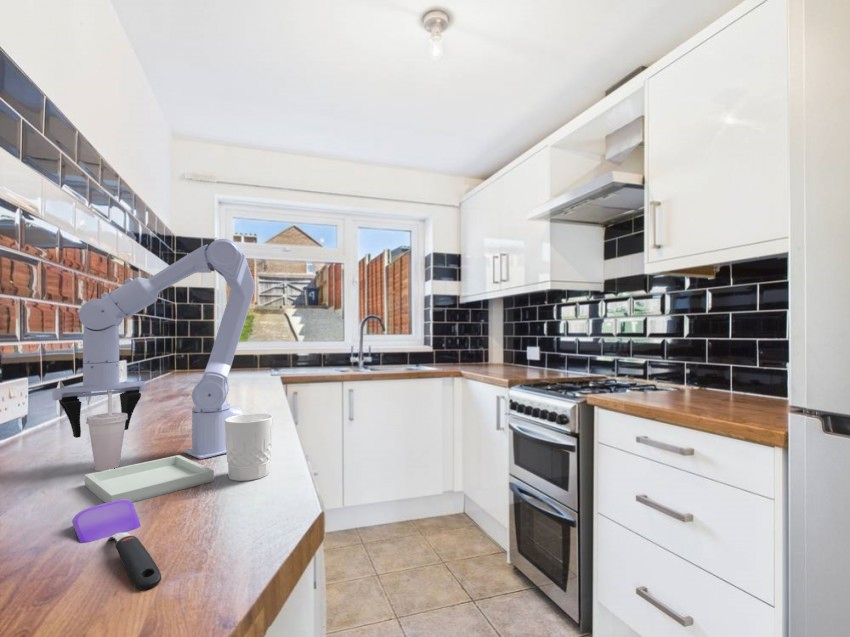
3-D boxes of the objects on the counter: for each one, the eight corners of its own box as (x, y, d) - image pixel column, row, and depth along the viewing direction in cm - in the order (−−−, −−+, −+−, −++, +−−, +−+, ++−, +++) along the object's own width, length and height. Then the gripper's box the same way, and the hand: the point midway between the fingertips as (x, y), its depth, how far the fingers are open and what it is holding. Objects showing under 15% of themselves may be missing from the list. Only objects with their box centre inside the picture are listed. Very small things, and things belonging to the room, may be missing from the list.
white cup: (281, 474, 79) (281, 417, 79) (237, 486, 73) (236, 424, 73) (259, 465, 84) (259, 411, 84) (217, 475, 78) (217, 418, 79)
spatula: (186, 579, 47) (186, 555, 47) (108, 609, 42) (108, 583, 42) (130, 514, 64) (130, 496, 64) (69, 530, 59) (69, 511, 59)
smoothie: (106, 474, 80) (106, 395, 80) (76, 472, 81) (76, 394, 82) (136, 463, 86) (136, 390, 87) (108, 461, 88) (108, 389, 88)
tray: (179, 464, 85) (179, 454, 85) (213, 481, 76) (213, 470, 76) (84, 485, 74) (84, 474, 74) (111, 508, 65) (111, 495, 65)
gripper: (137, 359, 95) (137, 423, 95) (49, 364, 84) (48, 436, 84) (149, 360, 90) (149, 428, 90) (57, 365, 79) (57, 443, 79)
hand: (101, 432), depth 87 cm, fingers open, 7 cm apart
